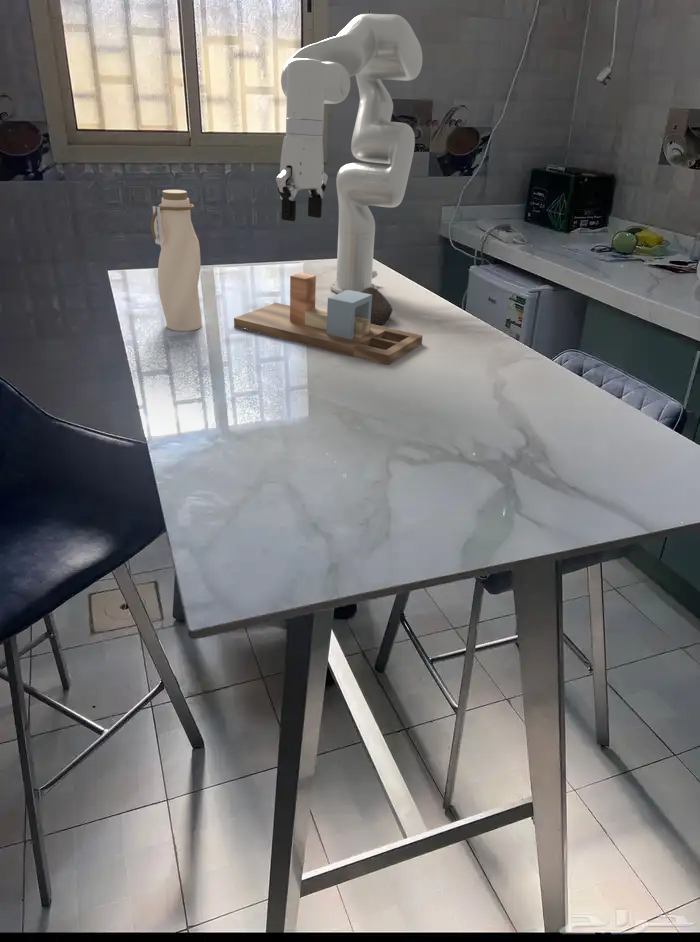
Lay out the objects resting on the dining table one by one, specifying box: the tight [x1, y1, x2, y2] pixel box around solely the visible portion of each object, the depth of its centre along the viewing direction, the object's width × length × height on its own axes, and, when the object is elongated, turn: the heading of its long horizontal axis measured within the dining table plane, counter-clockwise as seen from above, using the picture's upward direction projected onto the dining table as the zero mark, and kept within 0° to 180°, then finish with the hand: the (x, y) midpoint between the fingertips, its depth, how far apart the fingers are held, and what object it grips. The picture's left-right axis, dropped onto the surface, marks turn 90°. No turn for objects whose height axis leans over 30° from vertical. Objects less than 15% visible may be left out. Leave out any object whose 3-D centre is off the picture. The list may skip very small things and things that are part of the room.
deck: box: [233, 302, 423, 366], centre depth 151 cm, size 16×39×2 cm, turn 60°
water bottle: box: [150, 189, 203, 332], centre depth 145 cm, size 10×9×28 cm
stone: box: [360, 287, 393, 326], centre depth 163 cm, size 10×8×10 cm
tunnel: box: [326, 290, 372, 339], centre depth 146 cm, size 8×6×8 cm
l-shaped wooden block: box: [289, 272, 371, 338], centre depth 148 cm, size 4×18×10 cm, turn 60°
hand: (301, 218), depth 147 cm, fingers open, 9 cm apart
